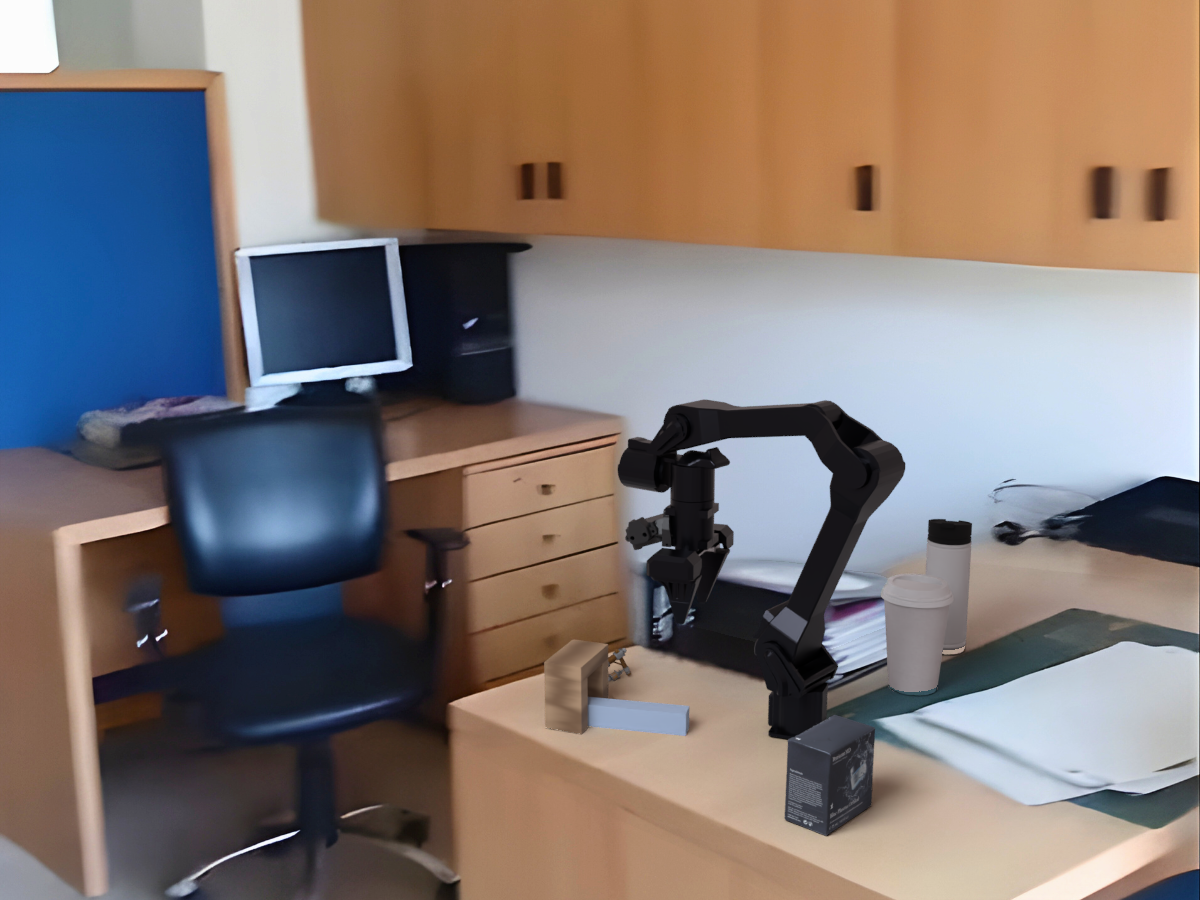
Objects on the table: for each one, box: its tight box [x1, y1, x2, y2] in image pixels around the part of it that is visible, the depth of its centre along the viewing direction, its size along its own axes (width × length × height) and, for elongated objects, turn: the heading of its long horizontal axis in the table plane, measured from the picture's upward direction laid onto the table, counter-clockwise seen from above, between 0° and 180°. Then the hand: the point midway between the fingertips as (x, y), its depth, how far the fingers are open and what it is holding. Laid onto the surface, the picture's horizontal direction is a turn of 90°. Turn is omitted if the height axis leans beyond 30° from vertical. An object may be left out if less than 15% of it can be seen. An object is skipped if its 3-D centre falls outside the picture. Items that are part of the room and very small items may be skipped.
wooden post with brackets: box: [608, 647, 632, 682], centre depth 172 cm, size 2×8×4 cm, turn 115°
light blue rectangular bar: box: [588, 697, 690, 737], centre depth 158 cm, size 16×3×3 cm, turn 76°
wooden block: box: [543, 639, 609, 735], centre depth 159 cm, size 5×9×9 cm, turn 158°
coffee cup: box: [880, 573, 954, 692], centre depth 169 cm, size 10×10×15 cm
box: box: [783, 714, 876, 836], centre depth 134 cm, size 9×6×10 cm, turn 138°
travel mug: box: [925, 518, 973, 650], centre depth 183 cm, size 6×7×20 cm
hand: (691, 612), depth 164 cm, fingers open, 9 cm apart
